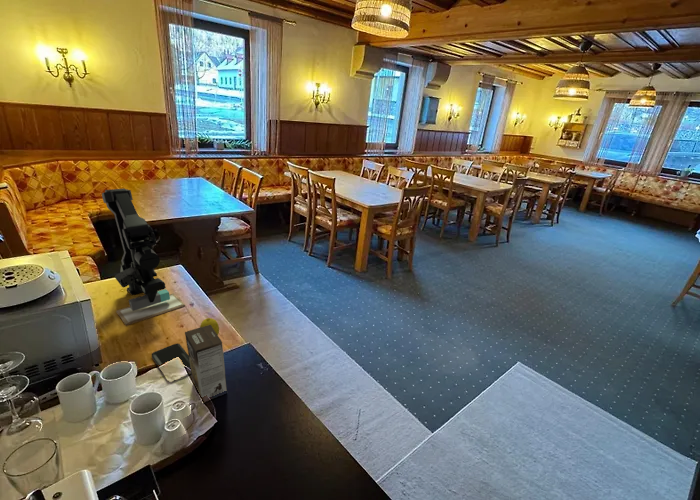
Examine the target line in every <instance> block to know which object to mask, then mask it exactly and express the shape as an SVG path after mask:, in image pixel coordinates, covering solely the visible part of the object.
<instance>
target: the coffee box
mask: <svg viewBox="0 0 700 500" xmlns="http://www.w3.org/2000/svg"><path fill="white" fill-rule="evenodd" d="M184 335H185V341H186V348H187V354H188V355H189V361H190V368H191V374H190V375H191V379H192V378H193V380H192V382H193V381H194V383H195V386H196V388H197V390H198V392H199V394H200V395H201V397H204V396H206V395H207V396H208V397H212V396H215V395H217V394H219V393H222V392H224V391H227V392H228V390H227V380H226V367H225V359H224V358H225V357H224V346H223V341H222V340H221V338H220V337H219V334H218V335H217V334H216V332H215V331H214V329H213V328H212V326H211V325H208V326H205V327H200V326H199V327H197V328H194V329H190V330H187V331H185V332H184ZM195 386H194V387H195Z"/></svg>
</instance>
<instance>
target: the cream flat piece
mask: <svg viewBox="0 0 700 500" xmlns="http://www.w3.org/2000/svg"><path fill="white" fill-rule="evenodd" d="M169 295H170V300H166V301H163V302H160V303H157V304H154V305H150V306H147V307H144V308H141V309H138V310H134V311H133V310H132V309H131V308H130V306H127V307H123V308H121V309H117V310H115V312H116V314H117V315H118V316H119V317H120V319H121V320H122V322H123V323H124V325H125V326H129V325H132V324H135V323H137V322H138V323H139V322H142V321H145V320H148V319H151V318H153V317H156V316H159V315H162V314H165V313H168V312H171V311H174V310H177V309H180V308H183V307H185V306H186V304H185V303H184V301H182V300H181V299H180V298H179V297H178V296H177V295H176V294H175V293H169Z"/></svg>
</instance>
